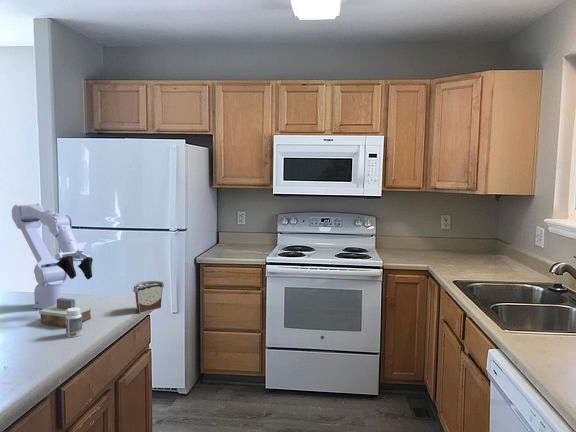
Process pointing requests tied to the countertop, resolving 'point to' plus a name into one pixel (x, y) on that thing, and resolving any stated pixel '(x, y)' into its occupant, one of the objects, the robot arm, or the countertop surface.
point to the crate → (62, 319)
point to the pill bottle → (73, 322)
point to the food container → (148, 295)
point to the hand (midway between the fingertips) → (81, 277)
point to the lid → (63, 307)
